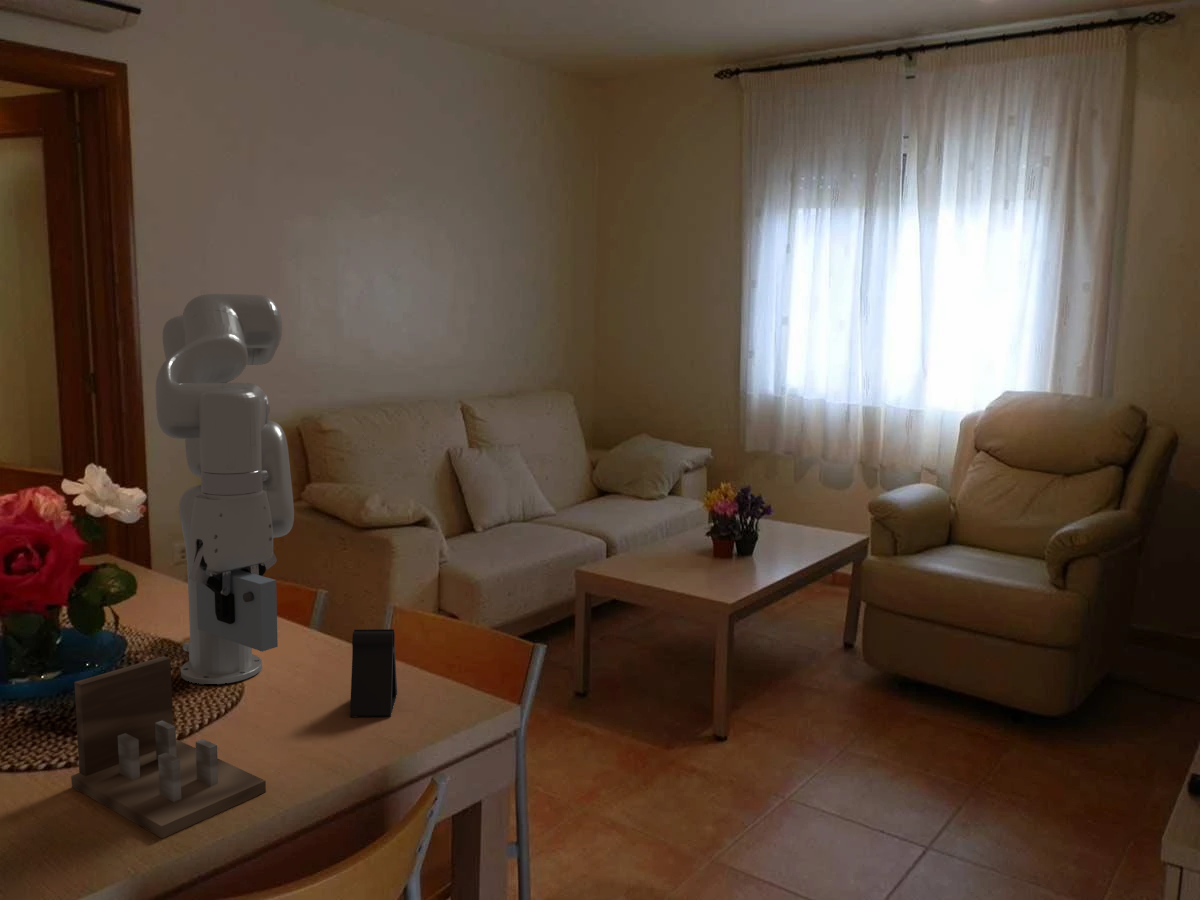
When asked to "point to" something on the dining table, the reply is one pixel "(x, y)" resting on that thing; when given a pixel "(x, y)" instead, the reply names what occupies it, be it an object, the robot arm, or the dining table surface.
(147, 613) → the dining table surface
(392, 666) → the phone stand
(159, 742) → the wooden peg rack
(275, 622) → the blue-grey rectangular block
